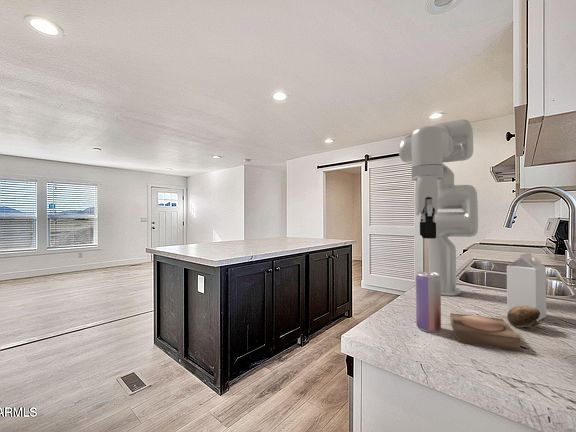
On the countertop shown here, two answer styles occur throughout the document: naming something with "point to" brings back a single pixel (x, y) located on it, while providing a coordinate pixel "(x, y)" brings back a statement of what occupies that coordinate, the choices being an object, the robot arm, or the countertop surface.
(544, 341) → the countertop surface
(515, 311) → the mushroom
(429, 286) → the beverage can
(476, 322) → the walnut base
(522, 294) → the milk carton
